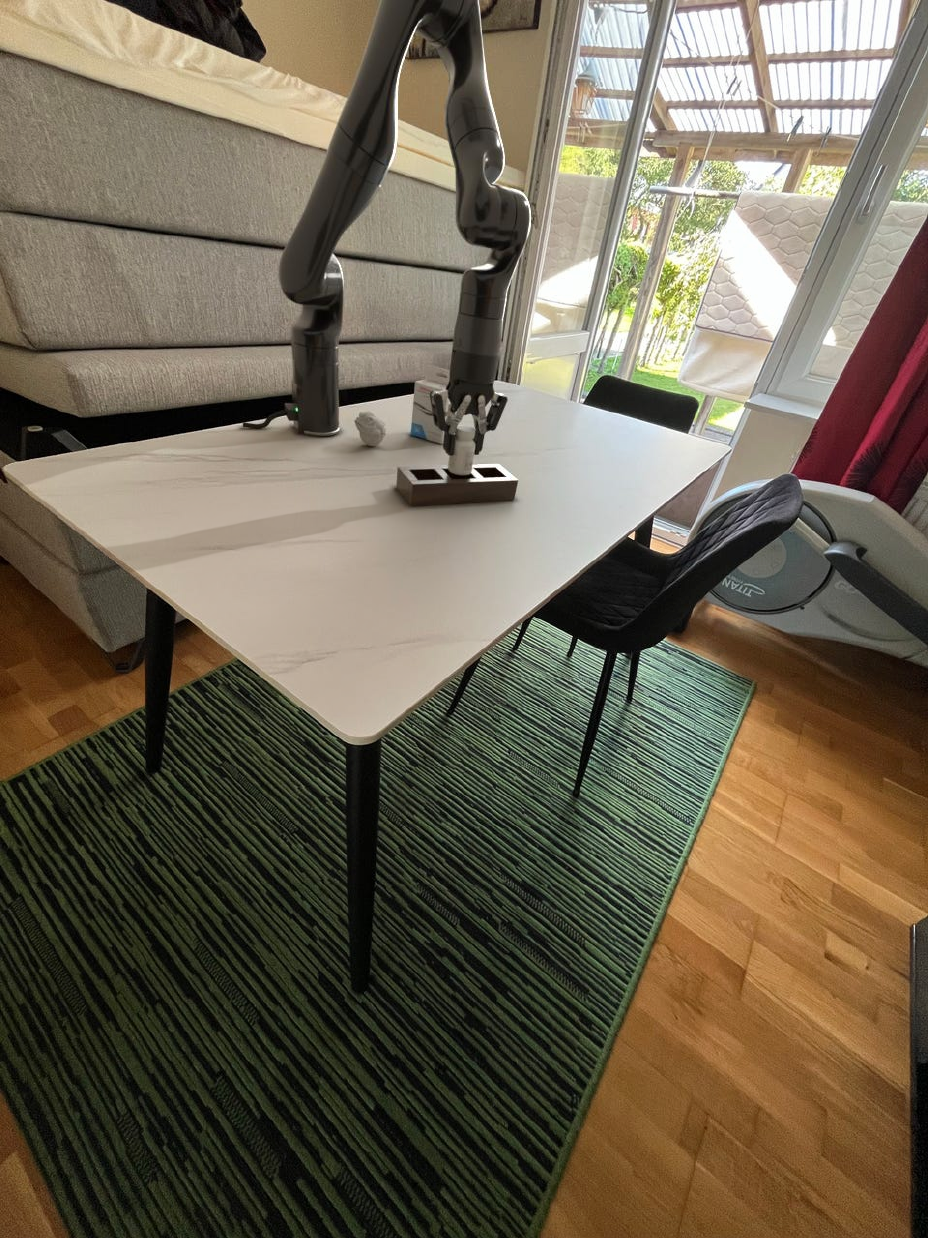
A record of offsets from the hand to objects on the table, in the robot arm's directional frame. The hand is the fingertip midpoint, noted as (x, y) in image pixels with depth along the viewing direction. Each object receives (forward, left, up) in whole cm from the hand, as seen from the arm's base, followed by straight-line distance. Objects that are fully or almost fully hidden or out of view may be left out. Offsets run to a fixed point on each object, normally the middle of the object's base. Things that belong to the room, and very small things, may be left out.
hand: (461, 453), depth 92 cm
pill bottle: (0, 0, -4) cm, 4 cm away
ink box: (+7, +31, -8) cm, 33 cm away
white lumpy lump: (-9, +26, -8) cm, 29 cm away
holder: (0, 0, -8) cm, 8 cm away
